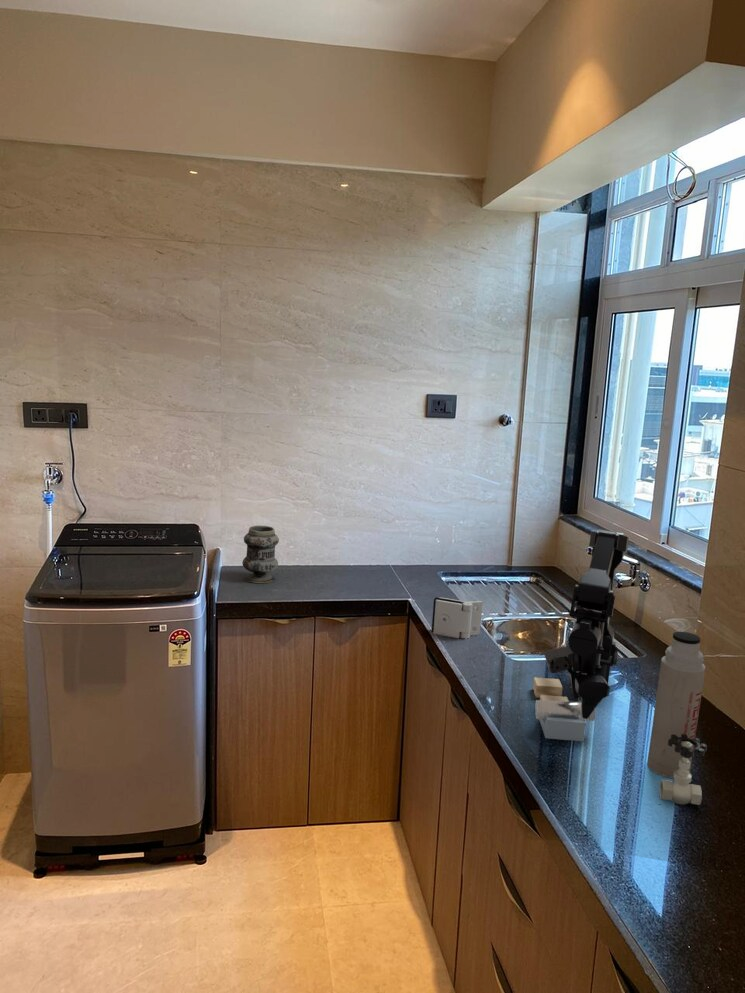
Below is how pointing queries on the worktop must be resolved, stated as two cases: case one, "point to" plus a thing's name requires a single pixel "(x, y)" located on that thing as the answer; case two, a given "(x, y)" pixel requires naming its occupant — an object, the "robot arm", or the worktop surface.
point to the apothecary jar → (260, 553)
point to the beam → (548, 689)
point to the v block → (563, 728)
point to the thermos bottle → (676, 701)
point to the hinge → (456, 617)
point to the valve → (683, 772)
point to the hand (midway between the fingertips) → (580, 708)
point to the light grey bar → (560, 710)
